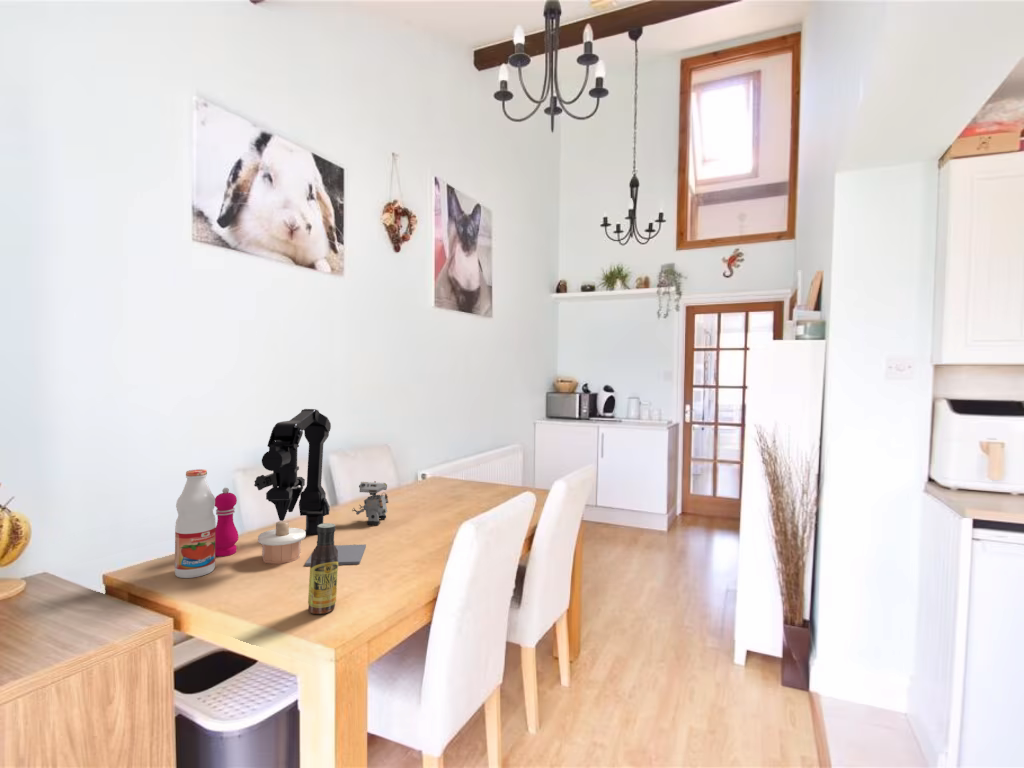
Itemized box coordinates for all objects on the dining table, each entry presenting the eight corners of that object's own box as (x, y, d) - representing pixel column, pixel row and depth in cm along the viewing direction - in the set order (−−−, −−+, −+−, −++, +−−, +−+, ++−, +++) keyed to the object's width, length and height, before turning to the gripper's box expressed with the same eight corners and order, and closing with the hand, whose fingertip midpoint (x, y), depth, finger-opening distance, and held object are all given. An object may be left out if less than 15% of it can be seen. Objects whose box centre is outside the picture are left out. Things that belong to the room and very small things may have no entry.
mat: (316, 548, 160) (317, 545, 160) (365, 546, 162) (366, 544, 162) (305, 566, 145) (305, 563, 145) (359, 564, 148) (359, 561, 148)
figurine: (361, 517, 195) (361, 479, 195) (390, 519, 194) (390, 480, 194) (351, 524, 186) (352, 484, 186) (382, 526, 185) (383, 485, 185)
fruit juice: (204, 563, 146) (206, 466, 145) (221, 570, 140) (222, 470, 140) (168, 573, 138) (169, 471, 137) (184, 581, 133) (185, 475, 132)
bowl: (268, 552, 155) (269, 533, 155) (303, 551, 157) (303, 532, 157) (257, 565, 145) (258, 544, 145) (295, 563, 147) (295, 543, 147)
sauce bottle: (311, 618, 114) (313, 531, 114) (304, 608, 119) (306, 524, 119) (341, 611, 118) (342, 526, 118) (333, 601, 123) (334, 520, 123)
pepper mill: (226, 558, 150) (227, 491, 150) (205, 556, 151) (206, 489, 151) (243, 550, 157) (244, 486, 157) (223, 548, 159) (224, 484, 158)
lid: (266, 532, 157) (266, 517, 156) (310, 531, 159) (310, 516, 159) (251, 546, 144) (251, 529, 144) (299, 544, 146) (299, 528, 146)
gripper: (268, 459, 160) (267, 508, 160) (246, 470, 141) (246, 526, 142) (305, 459, 162) (304, 507, 162) (288, 470, 143) (288, 525, 144)
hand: (286, 516), depth 152 cm, fingers open, 9 cm apart
